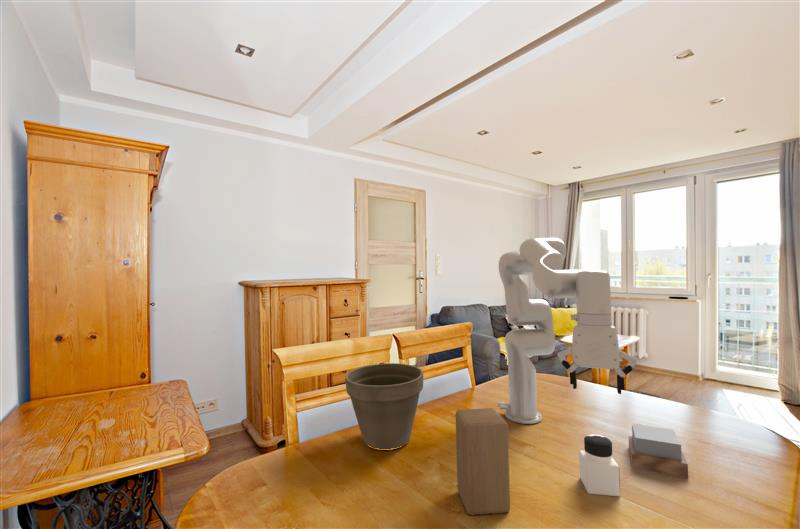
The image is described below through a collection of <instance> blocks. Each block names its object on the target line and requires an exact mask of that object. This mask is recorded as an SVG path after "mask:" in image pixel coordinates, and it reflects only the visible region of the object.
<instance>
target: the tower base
mask: <svg viewBox="0 0 800 529" xmlns="http://www.w3.org/2000/svg"><path fill="white" fill-rule="evenodd" d="M628 450H629V455H630V456H629V457H630V461H631V467H632V468H634V469H639V470H640V469H642V470H645V471H651V472H654V473H655V472H656V473H660V474H665V475H669V476H670V475H671V476H675V477H676V476H677V477H680V478H686V479H689V465H688V462H687V460H686V457H685V455H684V453H683V451H682V450H681V454H682V460H676V459H670V458H665V457H659V456H653V455H647V454H642V453H636V450H635V446H634V442H633V438H632V435H628Z"/></svg>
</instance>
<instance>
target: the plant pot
mask: <svg viewBox="0 0 800 529" xmlns="http://www.w3.org/2000/svg"><path fill="white" fill-rule="evenodd" d="M344 381H345V390H346V394H347V395H348V396H349V397H350V401H351V405H352V408H353V411H354V414H355V417H356V418H355V419H356V420H357V424H358V427H359V431H360V434H361V437H362V440H363V442H364V444H365V443H366V444H367V445H369V446H371V447H373V448H379V449H391V448H397V447H400V446H403V445H405V444H406V443H407V444H409V442H410V439H411V435H412V432H413V427H414V422H415V417H416V413H417V408H418V404H419V399H420V394H421V392H422V391H423V389H424V371H423V369H421V368H420V367H417V366H415V365H411V364H405V363H399V362H398V363H395V362H390V363H389V362H387V363H384V362H383V363H376V364H369V365H365V366H360V367H357V368H354V369H351V370H350V371H348V372H347V373H346V375H345V377H344ZM366 444H365V445H366ZM407 444H406V445H407ZM367 445H366V446H367ZM406 445H405V446H406ZM403 447H404V446H403Z"/></svg>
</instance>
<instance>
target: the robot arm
mask: <svg viewBox="0 0 800 529" xmlns="http://www.w3.org/2000/svg"><path fill="white" fill-rule="evenodd" d="M566 256H567V245H566V244H565V242H564V241H563V240H562V239H560V238H559V237H533V238H532V237H531V238H528V239H525V240H524V241H523V242H521V244H520V246H519V251H517V250H516V251H509V252H505V253H504V254H501V256H500V257H499V260H498V273H499V277H500V280H501V283H502V285H503V290H504V297H505V298H504V299H505V311H506V318H507V322H508V323H509V324H510V325H512V326H518V327H519V326H523V327H524V326H536V328H522V329H513V330H510V331H508V332H507V333H506V334H505V337H504V346H505V350H506V356H507V369H508V370H507V371H508V372H507V373H508V399H509V400H508V401H507V402H503V401H497V407H498V408H499V409H500V410H505V413H504V415H505V416H504V417H506V419H508V420H509V421H512V422H514V423H518V424H523V425H525V424H527V425H532V424H537V423H540V422H541V421H542V420H543V415H542V414H541V413H540V412H539V411H538V403H537V402H538V397H537V392H538V391H537V370H536V367H535V364H534V363H533V362H532V361H531V359H530V357H537V356H538V357H539V356H549V355H552V354H553V353H554V351H555V348H556V336H555V326H554V317H553V311H552V307H551V305H550V303H549V302H548V301H547V300H545V299H542V298H530V293H529V292H530V291H529V289H530V288H529V286H528V284H527V282H526V281H525V279H524V278H522V277H521V276H523V275H525V276H527V275H530V276H531V275H532V280H533V283H534V285H535V287H536V288H537V289H538V290H539V291H540V292H541V293H542V294H543V295H544V296H546V297H548V298H551V299H569V298H570V299H573V298H574V299H576V313H574V314H570V321H575V322H576V324H574V326H573V328H572V329H573V330H572V343H571V344H572V346H570V347H568V348H566V349H564V350H561V351H558V352H557V354H556V355H557V357H558V360H559V361H560V362H561V363H560V364H561V365H562V366H563V367H564V368H565V369H566V370H567V371H568V372H569V384H570V385H572V388H573V389H572V390H576V389H577V387H578V381H577V369H578V368H579V367H580V368H581V367H582V368H587V369H588V368H589V369H601V370H602V369H603V370H614V371H615V372H616V373H617V374H616V386H617V387H616V390H617V394H618V395H622V391H625V377H626V376H627V375H628V374H629V373H631V372H632V371H633V369H634V368H635V366H636V365H637V362H638V359H637V358H636V357H634V356H632V355H630V354H628V353H627V352H625V351H623V350H620V348H619V346H620V345H619V339H618V333H617V328H616V326H615V325H612V324H613V323H612V322H613V321H612V320H613V319H612V301H611V300H612V299H611V295H612V294H611V276H610V274H609V272H608V271H607V270H602V269H601V270H600V269H594V270H593V269H592V270H590V269H562V268H563V266H564V260H565V259H566ZM568 355H571V356H572V363H570V362H569V361H568V360H567V359H566V356H568ZM620 358H622V359H624V360H626V361H628V363H627V365H625V366H624V367H623V368H622V367H621V366H620V364H621V362H620V361H621V360H620Z"/></svg>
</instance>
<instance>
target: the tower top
mask: <svg viewBox="0 0 800 529" xmlns="http://www.w3.org/2000/svg"><path fill="white" fill-rule="evenodd" d="M631 432H632V433H631V436H632V438H633V442H634V446H635V450H636V453H642V454H647V455H653V456H659V457H665V458H670V459H676V460H682V454H681V451H682V444H681V442H680V440H679V437H678V436H677V434H676V432H675V429H671V428H664V427H657V426H649V425H643V424H636V423H631Z"/></svg>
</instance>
